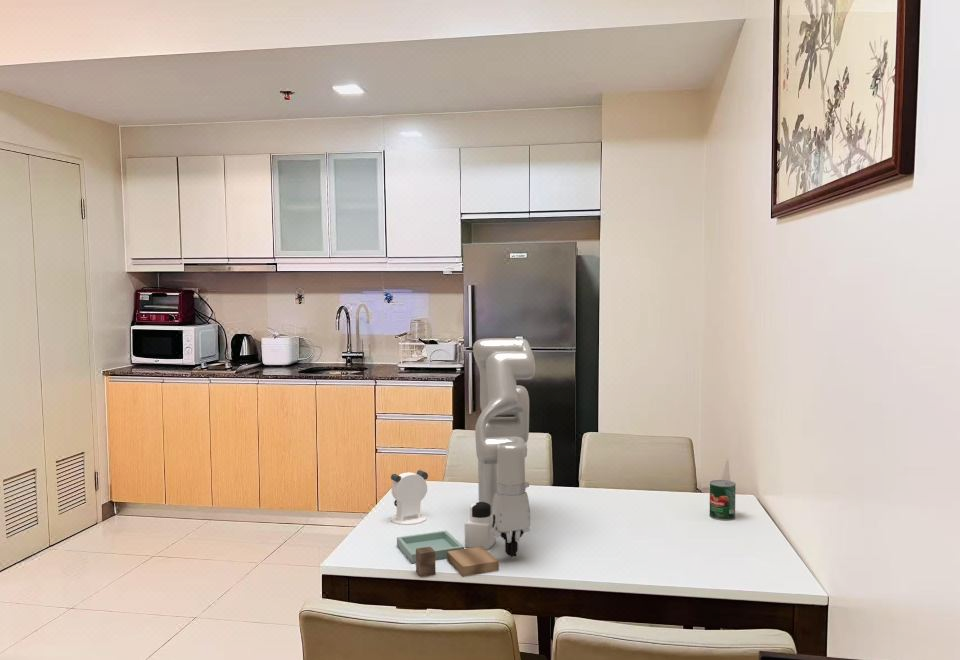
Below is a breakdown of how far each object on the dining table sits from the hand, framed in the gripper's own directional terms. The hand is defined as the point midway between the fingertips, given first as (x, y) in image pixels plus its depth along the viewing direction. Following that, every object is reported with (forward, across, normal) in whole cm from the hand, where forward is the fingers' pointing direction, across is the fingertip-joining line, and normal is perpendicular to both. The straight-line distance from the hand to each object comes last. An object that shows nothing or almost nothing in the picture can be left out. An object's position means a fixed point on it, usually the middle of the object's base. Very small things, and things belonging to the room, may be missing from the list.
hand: (511, 555), depth 195 cm
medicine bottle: (+1, +3, -14) cm, 14 cm away
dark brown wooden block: (+1, +24, 0) cm, 24 cm away
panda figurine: (+1, +15, -45) cm, 48 cm away
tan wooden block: (+2, +11, 0) cm, 12 cm away
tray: (+1, +18, -15) cm, 24 cm away
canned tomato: (+1, -78, -7) cm, 78 cm away
